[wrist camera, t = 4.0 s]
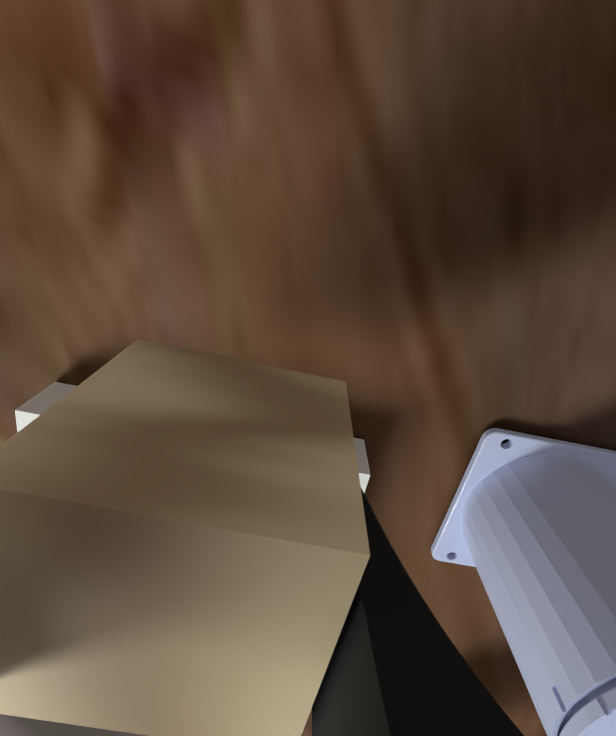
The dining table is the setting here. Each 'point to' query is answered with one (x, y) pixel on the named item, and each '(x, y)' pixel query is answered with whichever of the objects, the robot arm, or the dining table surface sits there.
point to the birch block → (179, 547)
